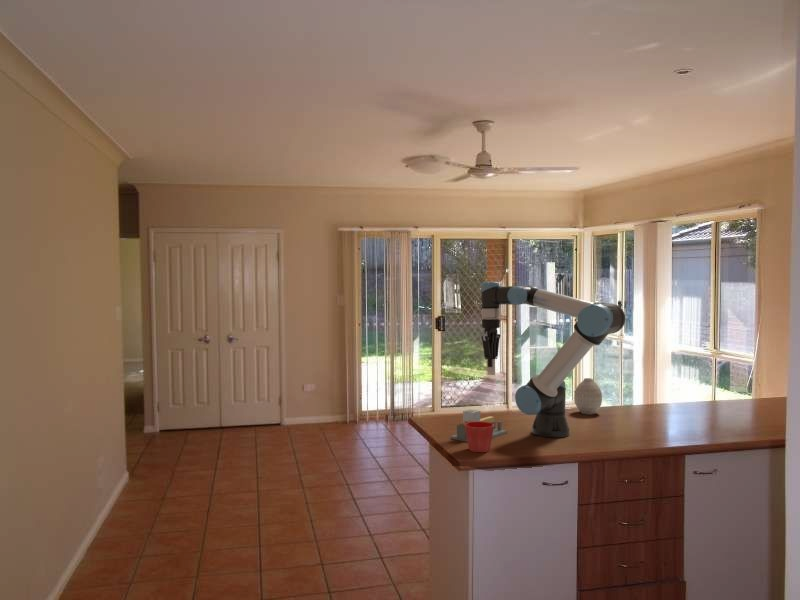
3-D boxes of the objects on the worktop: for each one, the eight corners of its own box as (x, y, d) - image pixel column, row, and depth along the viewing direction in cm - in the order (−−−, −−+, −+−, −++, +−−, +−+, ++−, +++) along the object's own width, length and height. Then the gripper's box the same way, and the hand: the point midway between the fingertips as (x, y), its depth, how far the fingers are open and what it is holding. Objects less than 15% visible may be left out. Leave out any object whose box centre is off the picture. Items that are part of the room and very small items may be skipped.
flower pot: (462, 446, 243) (462, 421, 243) (490, 445, 244) (490, 420, 244) (467, 453, 233) (467, 427, 232) (496, 453, 234) (497, 427, 233)
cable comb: (506, 433, 264) (507, 416, 264) (475, 443, 247) (475, 426, 247) (482, 428, 272) (482, 412, 272) (450, 438, 255) (450, 421, 255)
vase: (605, 416, 298) (605, 380, 298) (578, 416, 299) (578, 380, 298) (597, 410, 311) (597, 376, 311) (571, 410, 311) (571, 376, 311)
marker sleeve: (480, 431, 257) (480, 410, 257) (473, 433, 254) (473, 412, 253) (469, 429, 261) (470, 409, 260) (462, 431, 257) (463, 411, 257)
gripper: (490, 317, 274) (490, 372, 275) (475, 319, 264) (476, 375, 264) (505, 318, 270) (506, 373, 270) (491, 319, 259) (492, 377, 260)
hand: (491, 374), depth 267 cm, fingers closed
